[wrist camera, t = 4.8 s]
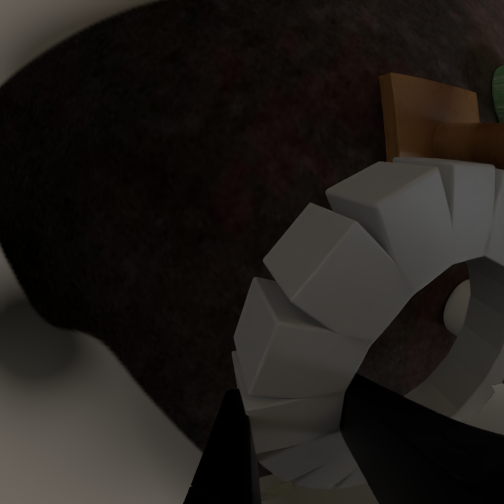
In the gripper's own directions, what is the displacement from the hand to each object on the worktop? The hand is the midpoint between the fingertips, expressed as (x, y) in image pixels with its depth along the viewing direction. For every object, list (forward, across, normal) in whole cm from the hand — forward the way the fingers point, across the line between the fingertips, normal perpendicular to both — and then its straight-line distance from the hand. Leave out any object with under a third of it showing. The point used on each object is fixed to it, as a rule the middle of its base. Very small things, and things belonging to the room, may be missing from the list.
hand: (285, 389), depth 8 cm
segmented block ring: (+1, -5, 0) cm, 5 cm away
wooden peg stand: (+11, -15, -6) cm, 20 cm away
